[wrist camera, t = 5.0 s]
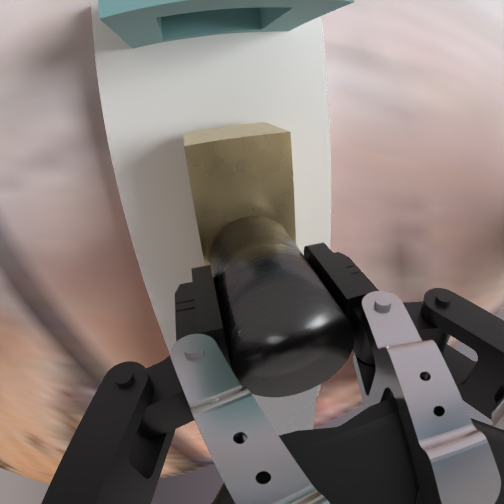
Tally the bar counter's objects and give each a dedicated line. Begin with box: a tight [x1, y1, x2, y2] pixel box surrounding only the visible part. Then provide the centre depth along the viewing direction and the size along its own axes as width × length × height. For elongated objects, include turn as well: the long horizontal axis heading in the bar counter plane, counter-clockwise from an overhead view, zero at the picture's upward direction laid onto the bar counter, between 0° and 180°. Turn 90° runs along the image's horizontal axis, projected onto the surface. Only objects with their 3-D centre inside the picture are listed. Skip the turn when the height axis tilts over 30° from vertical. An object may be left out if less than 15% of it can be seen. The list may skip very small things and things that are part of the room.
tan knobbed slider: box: [184, 122, 355, 397], centre depth 15 cm, size 4×20×10 cm, turn 5°
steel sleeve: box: [251, 386, 318, 436], centre depth 22 cm, size 6×14×6 cm, turn 5°
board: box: [91, 0, 331, 396], centre depth 20 cm, size 12×34×2 cm, turn 5°
